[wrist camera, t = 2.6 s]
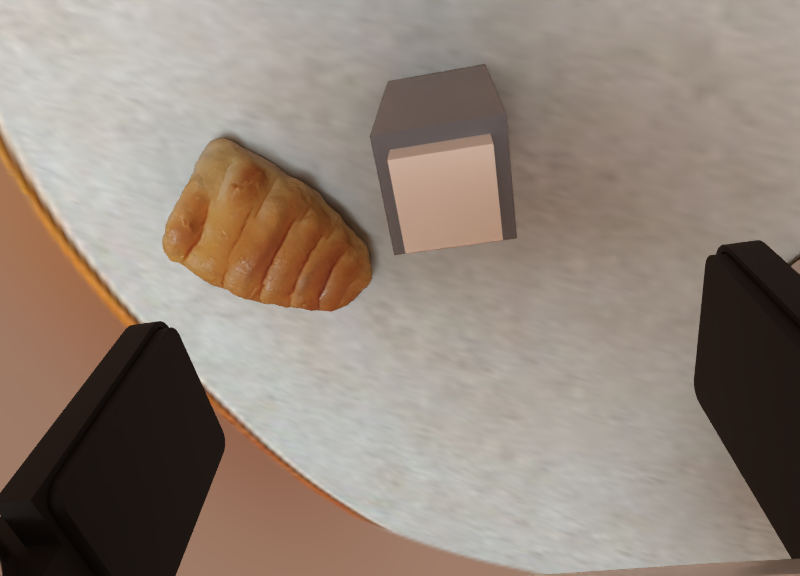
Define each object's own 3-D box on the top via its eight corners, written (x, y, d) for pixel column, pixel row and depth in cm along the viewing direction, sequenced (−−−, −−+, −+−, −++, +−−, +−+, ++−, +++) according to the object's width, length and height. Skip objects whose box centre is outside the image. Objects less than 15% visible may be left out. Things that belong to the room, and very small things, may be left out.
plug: (494, 159, 26) (520, 252, 18) (404, 173, 26) (392, 269, 18) (484, 64, 24) (509, 123, 16) (387, 81, 24) (366, 146, 16)
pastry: (401, 221, 28) (396, 259, 24) (338, 322, 31) (326, 368, 27) (214, 120, 26) (181, 147, 22) (167, 239, 29) (133, 278, 25)
